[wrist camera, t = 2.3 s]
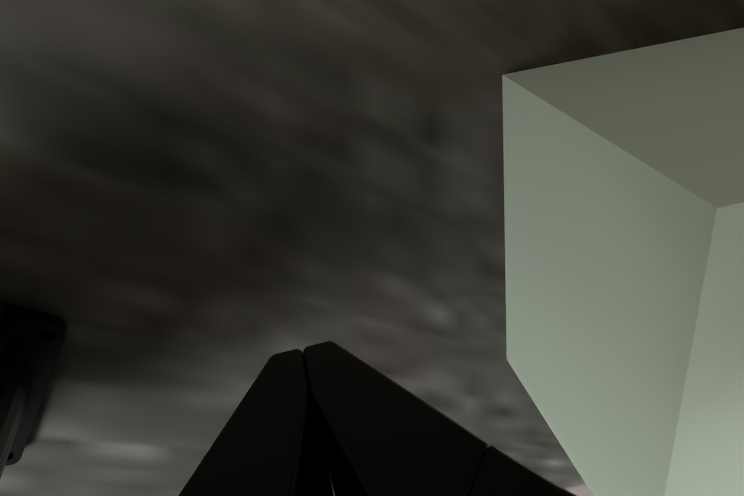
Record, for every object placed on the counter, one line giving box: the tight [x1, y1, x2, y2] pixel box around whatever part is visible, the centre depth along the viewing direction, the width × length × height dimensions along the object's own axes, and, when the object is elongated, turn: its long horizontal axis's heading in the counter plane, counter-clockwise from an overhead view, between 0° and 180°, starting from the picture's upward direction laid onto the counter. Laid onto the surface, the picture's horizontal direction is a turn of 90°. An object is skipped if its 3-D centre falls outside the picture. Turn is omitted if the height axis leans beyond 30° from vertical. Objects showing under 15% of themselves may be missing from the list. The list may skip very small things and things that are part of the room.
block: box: [502, 28, 744, 496], centre depth 19 cm, size 9×12×10 cm
